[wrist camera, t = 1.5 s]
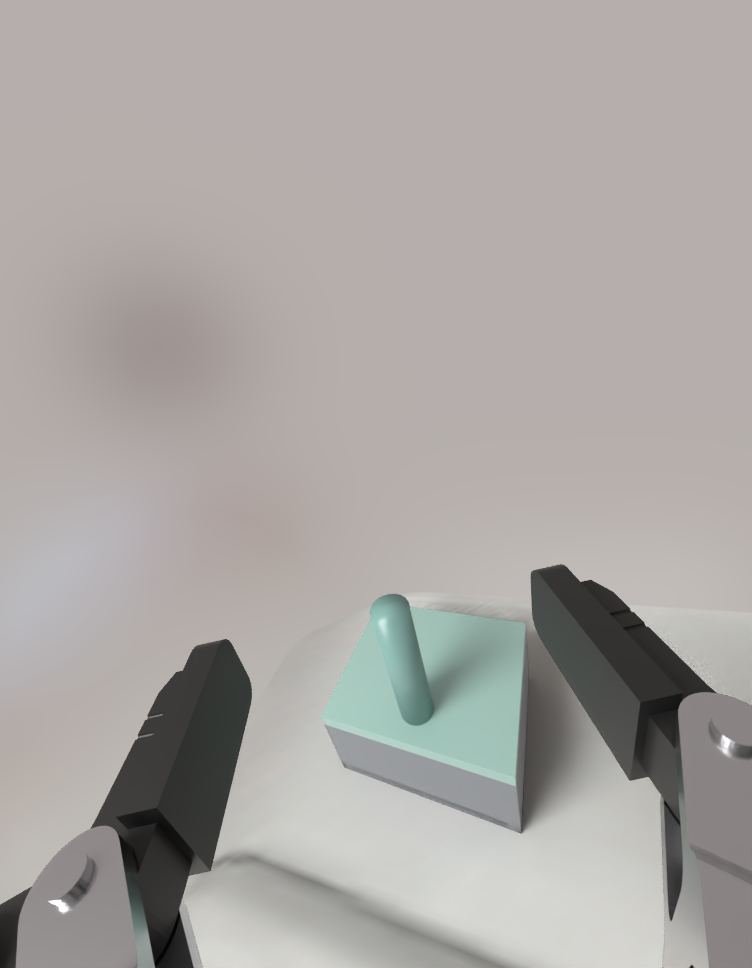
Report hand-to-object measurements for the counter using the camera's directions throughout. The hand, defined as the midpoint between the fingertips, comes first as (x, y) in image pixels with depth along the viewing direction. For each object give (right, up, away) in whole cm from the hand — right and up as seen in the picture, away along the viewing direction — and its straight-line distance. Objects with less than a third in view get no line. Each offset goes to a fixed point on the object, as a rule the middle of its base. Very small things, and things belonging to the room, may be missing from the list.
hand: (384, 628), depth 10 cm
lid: (+5, -13, +21) cm, 25 cm away
